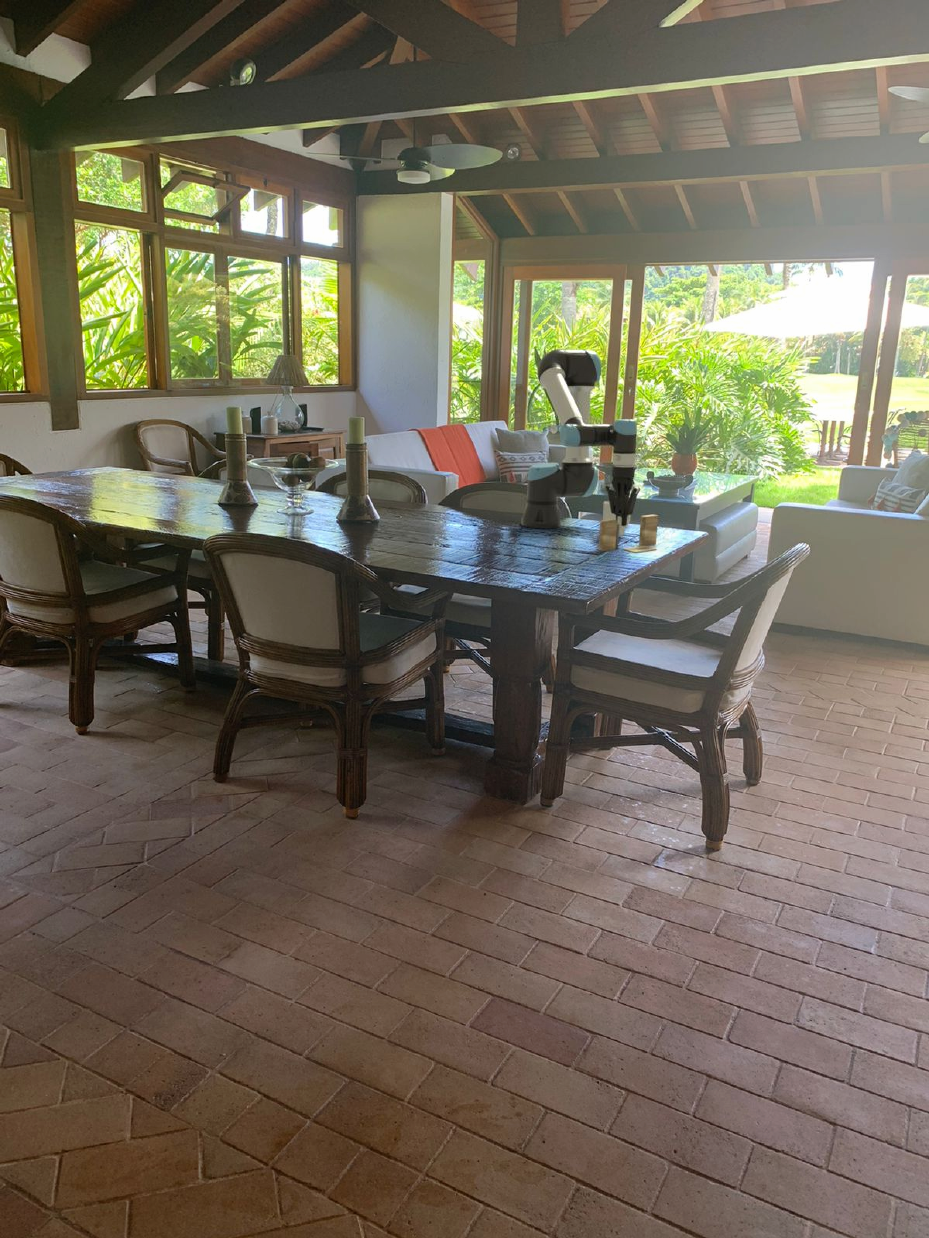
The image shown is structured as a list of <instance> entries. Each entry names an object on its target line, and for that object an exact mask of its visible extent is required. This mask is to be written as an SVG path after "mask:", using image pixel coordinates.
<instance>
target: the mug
mask: <svg viewBox="0 0 929 1238" xmlns="http://www.w3.org/2000/svg"><path fill="white" fill-rule="evenodd" d="M602 510H603V511H602V520H609V519H613V520H616V515H615V514H612V513H611V509H610V502H609V500H607V501H603V508H602ZM631 517H632V516H631V515H628V516H627V525H626V526H625V530H626V529H627V527H628V525H629V523H630V522H631Z"/></svg>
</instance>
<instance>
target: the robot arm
mask: <svg viewBox="0 0 929 1238" xmlns="http://www.w3.org/2000/svg"><path fill="white" fill-rule="evenodd" d="M536 371H537V372H536V373H537V374H536V375H537V380H538V382H539V384H540V386H541V387H542V388H543V389H544V390H545V391H546V393H547V395H548V398H549V400H550V402H551V404H552V407H553V409H554V411H555V413H556V416H557V417H558V420H559V423H560V425H561V427H560V430H559V438H560V440H559V441H560V443H561V445H563V446H564V447H565V448H566V449H565V457H564V459H563V460H562V461H561V466H560V463H558V462H552V461H551V462H541V463H536V464H532V465H531V466H529V468H528V472H527V477H526V480H527V486H526V487H527V488H526V489H527V490H526V506H525V508H524V511H523V515H522V517H521V519H520V520H521V526H522V527H526V528H532V529H542V530H543V529H545V530H547V529H556V528H560V527H561V526H562V519H561V515H560V511H559V507H558V500H559V498H584V497H585V498H586V497H590V496H592V495H593V494H594V492H595V491H596V489H597V486H598V482H599V472H598V468H597V467H596V466H594V465H593V464H594V462H593V460H592V459H591V458H590V447H612V449H613V450H612V465H613V466H612V470H611V476H612V480H611V482H610V484H607V485H606V486H605V489H606V492H607V495H608V496H607V497H608V501H609V502H610V509H611V513H612V514H615V515H616V520H617V524H620V526H619V537H620V536H625V535H626V534H625V531H626V529H625V526H626V525H627V519H628V515H633V513H634V509H635V505H636V502H637V501H636V500H637V498H638V494H639V493H640V491H641V488H640V487H637V486H636V484H635V481H634V479H635V475H636V474H635V473H636V472H635V471H636V467H635V465H636V448H637V436H638V435H637V432H638V429H637V421H636V420H635V419H627V418H625V419H624V418H623V419H622V418H621V419H615V420H614V423H591V419H590V418H591V395H592V394H591V392H592V391H593V390H594V388H595V387H596V383H598V382H599V381H600V379H601V376H602V362H601V359H600V357H599V355H598V353H597V352H596V351H594V350H588V349H561V348H559V349H554V350H553V349H552V350H550V351H548V352H547V353H546V354H544V355H543V357H542V358H541V359H540V361H539V364H538V366H537V370H536Z"/></svg>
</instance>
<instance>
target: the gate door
mask: <svg viewBox="0 0 929 1238" xmlns="http://www.w3.org/2000/svg"><path fill="white" fill-rule="evenodd" d="M609 520H610V519H609ZM619 526H620V524H617V531H616V546H615V549H619V540H620V539H619V537H620V536H619Z"/></svg>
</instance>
